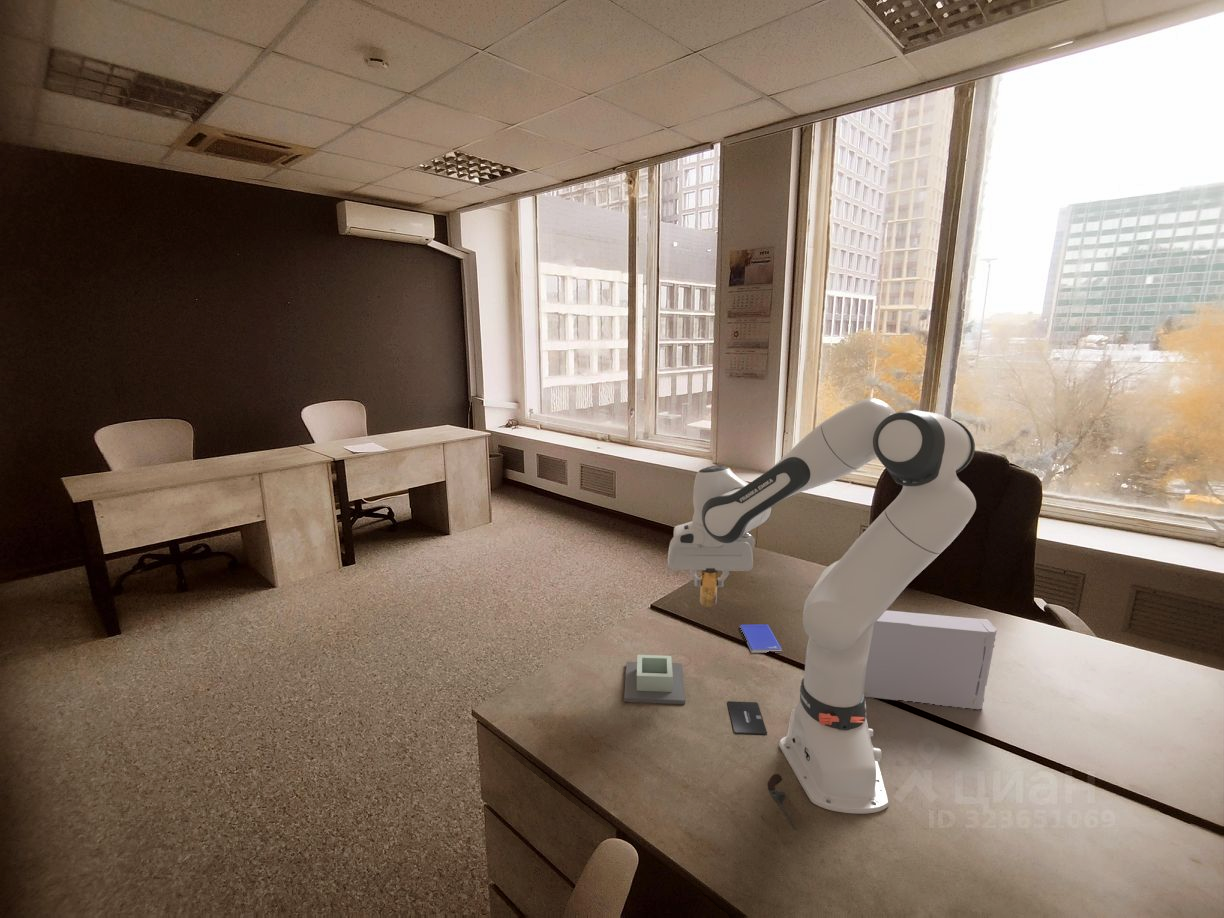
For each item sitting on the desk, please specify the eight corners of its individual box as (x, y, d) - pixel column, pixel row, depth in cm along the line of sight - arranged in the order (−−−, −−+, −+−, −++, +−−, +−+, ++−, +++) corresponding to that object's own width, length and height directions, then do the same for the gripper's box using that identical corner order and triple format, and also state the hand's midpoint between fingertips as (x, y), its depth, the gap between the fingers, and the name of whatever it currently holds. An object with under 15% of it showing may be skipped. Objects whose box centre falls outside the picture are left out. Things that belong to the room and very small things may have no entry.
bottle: (717, 607, 132) (719, 568, 130) (700, 606, 132) (701, 568, 130) (715, 598, 136) (717, 561, 134) (698, 598, 136) (700, 561, 134)
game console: (985, 712, 122) (1000, 633, 118) (856, 696, 128) (865, 620, 123) (974, 695, 128) (988, 619, 123) (850, 681, 133) (859, 607, 128)
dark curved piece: (760, 778, 105) (761, 776, 105) (779, 775, 106) (779, 772, 106) (801, 845, 92) (801, 842, 92) (822, 841, 93) (822, 837, 93)
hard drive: (782, 648, 145) (768, 624, 157) (751, 649, 145) (739, 624, 157) (782, 654, 145) (767, 628, 157) (751, 654, 145) (739, 629, 157)
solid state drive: (757, 704, 126) (757, 702, 126) (767, 736, 116) (767, 733, 116) (726, 703, 126) (727, 701, 126) (734, 735, 116) (734, 732, 116)
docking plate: (685, 704, 125) (685, 685, 124) (624, 701, 126) (624, 682, 125) (681, 667, 139) (682, 649, 138) (626, 665, 140) (626, 647, 139)
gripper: (752, 528, 132) (749, 580, 135) (667, 526, 133) (666, 578, 137) (757, 537, 126) (754, 592, 129) (668, 536, 127) (667, 590, 131)
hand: (708, 585), depth 133 cm, fingers closed on bottle, 4 cm apart
